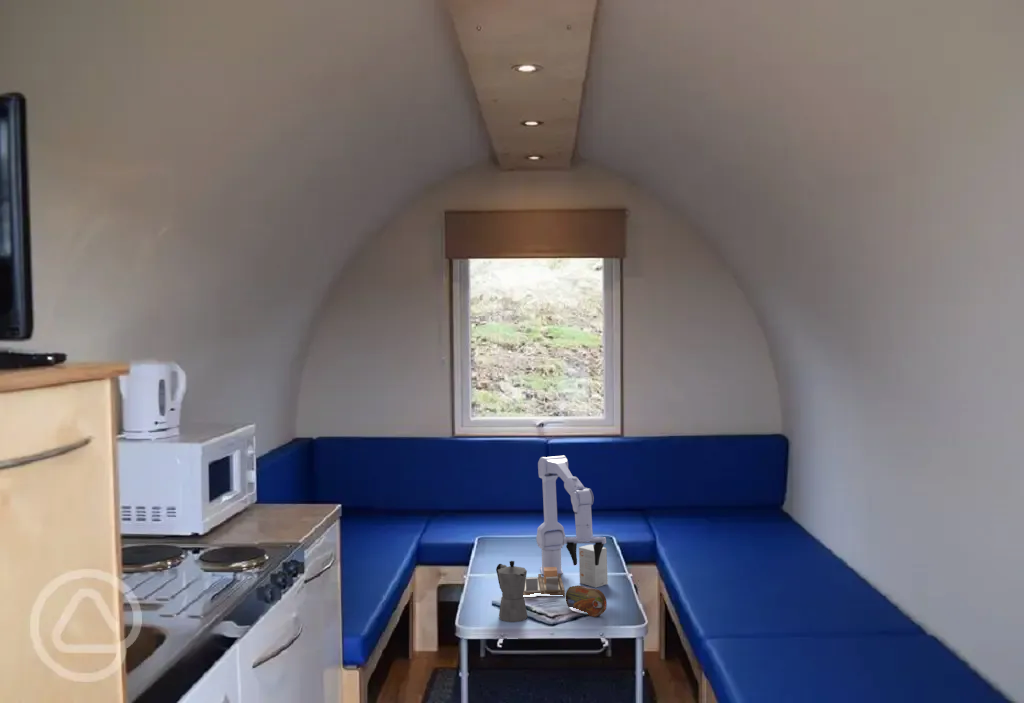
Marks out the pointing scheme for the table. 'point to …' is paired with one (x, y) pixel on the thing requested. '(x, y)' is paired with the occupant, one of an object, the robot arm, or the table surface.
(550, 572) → the cube
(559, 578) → the lane board
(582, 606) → the tin
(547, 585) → the strip
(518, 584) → the coffeepot
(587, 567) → the small box
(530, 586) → the strip
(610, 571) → the table surface
